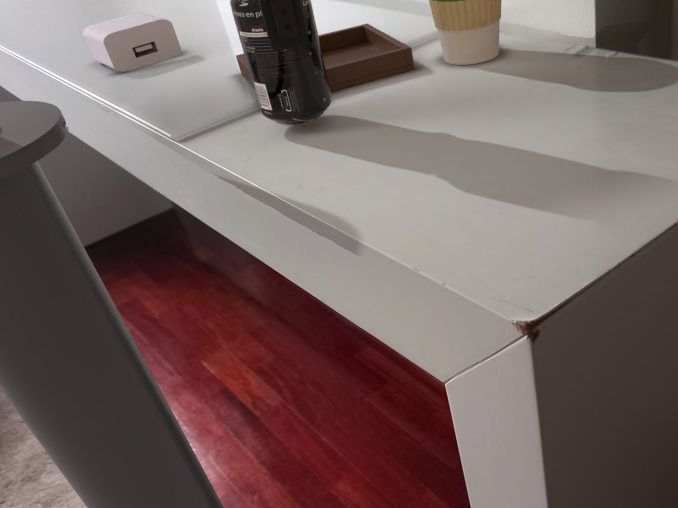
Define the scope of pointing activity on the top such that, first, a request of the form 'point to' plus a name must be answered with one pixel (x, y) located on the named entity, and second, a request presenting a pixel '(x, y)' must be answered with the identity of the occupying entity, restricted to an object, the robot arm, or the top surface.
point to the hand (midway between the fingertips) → (279, 36)
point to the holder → (356, 56)
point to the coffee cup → (467, 29)
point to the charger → (132, 41)
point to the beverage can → (283, 67)
